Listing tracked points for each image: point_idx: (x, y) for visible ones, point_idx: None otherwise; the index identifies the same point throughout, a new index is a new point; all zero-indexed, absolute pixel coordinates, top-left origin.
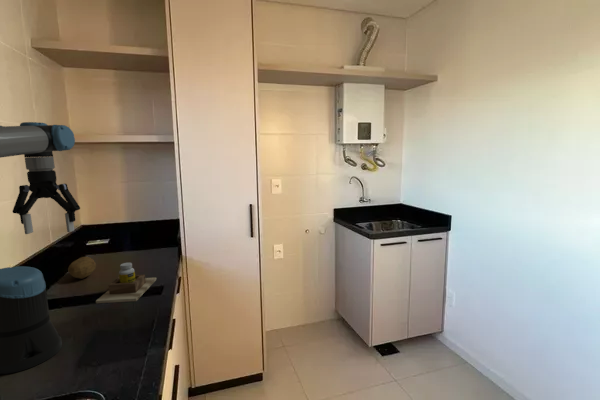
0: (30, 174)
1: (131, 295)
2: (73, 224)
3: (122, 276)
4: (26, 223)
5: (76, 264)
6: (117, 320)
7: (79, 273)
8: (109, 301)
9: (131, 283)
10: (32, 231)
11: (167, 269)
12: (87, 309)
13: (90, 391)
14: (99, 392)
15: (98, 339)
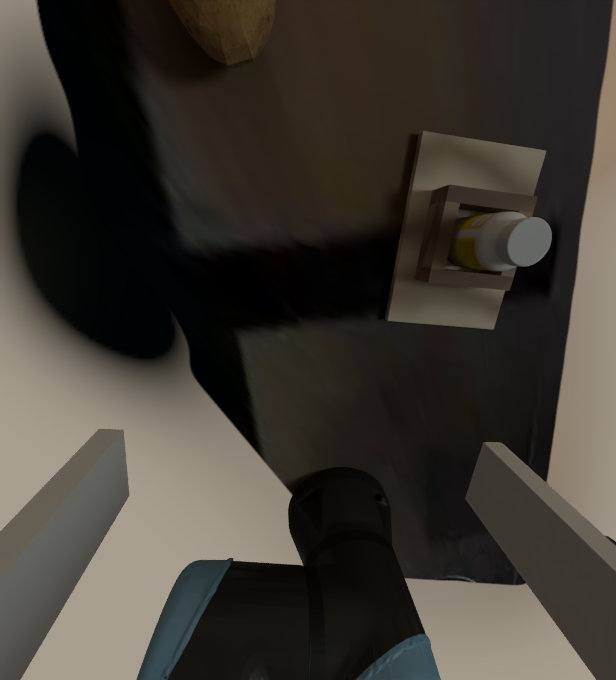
0: None
1: (478, 305)
2: (546, 488)
3: (485, 269)
4: (58, 603)
5: (218, 3)
6: (459, 418)
7: (246, 62)
8: (421, 322)
9: (498, 284)
10: (120, 445)
11: (584, 15)
12: (374, 350)
13: (461, 578)
14: (471, 580)
15: (439, 478)
